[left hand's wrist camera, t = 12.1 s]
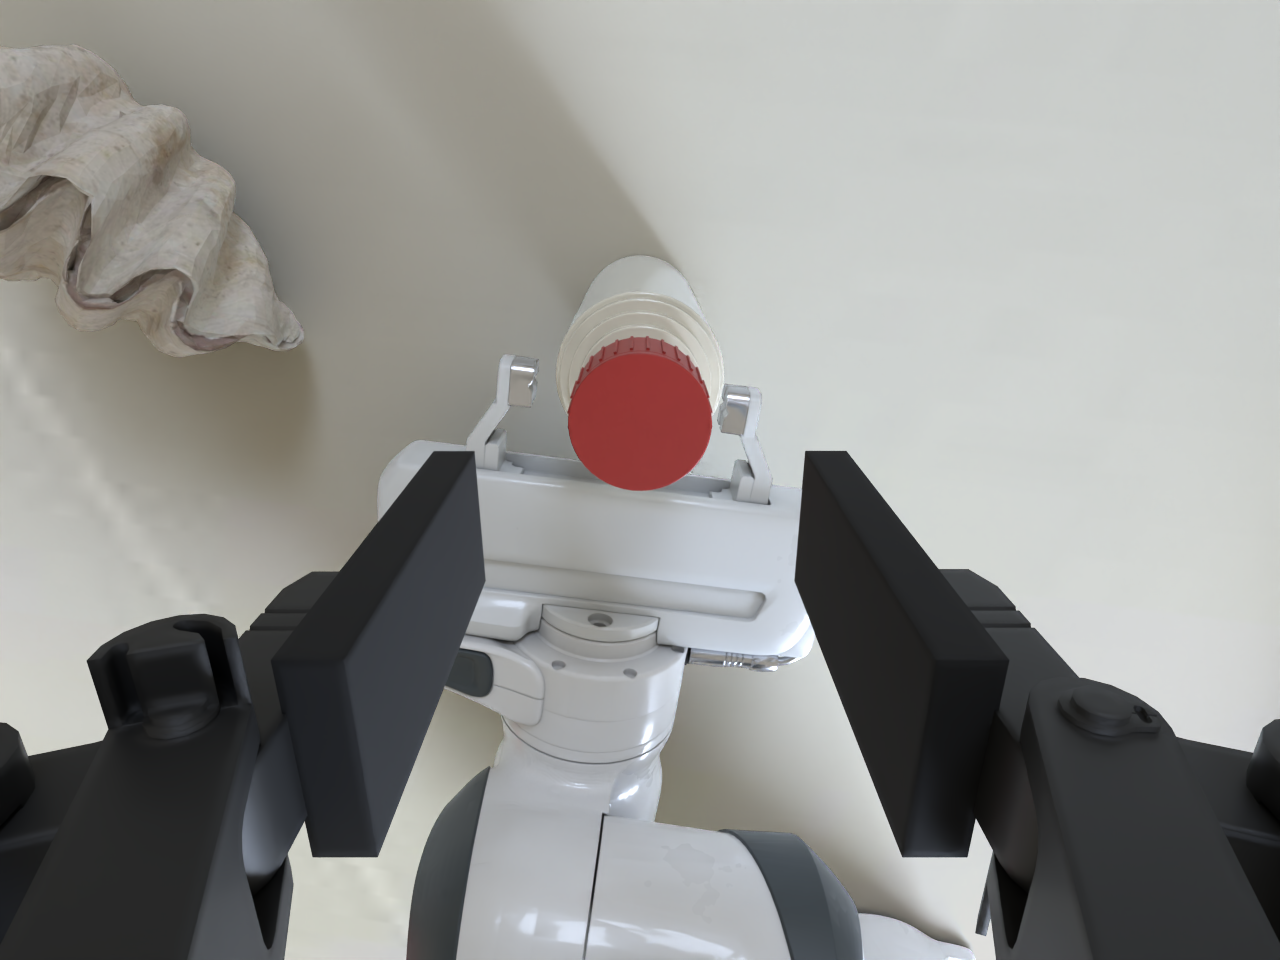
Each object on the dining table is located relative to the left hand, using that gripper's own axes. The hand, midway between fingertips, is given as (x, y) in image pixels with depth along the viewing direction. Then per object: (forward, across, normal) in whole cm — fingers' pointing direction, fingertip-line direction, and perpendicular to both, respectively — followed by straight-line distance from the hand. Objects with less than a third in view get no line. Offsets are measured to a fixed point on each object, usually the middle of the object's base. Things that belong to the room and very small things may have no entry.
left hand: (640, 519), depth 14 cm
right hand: (+18, 0, +1) cm, 18 cm away
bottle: (+25, 0, 0) cm, 25 cm away
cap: (+6, 0, 0) cm, 6 cm away
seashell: (+25, +22, -5) cm, 33 cm away
